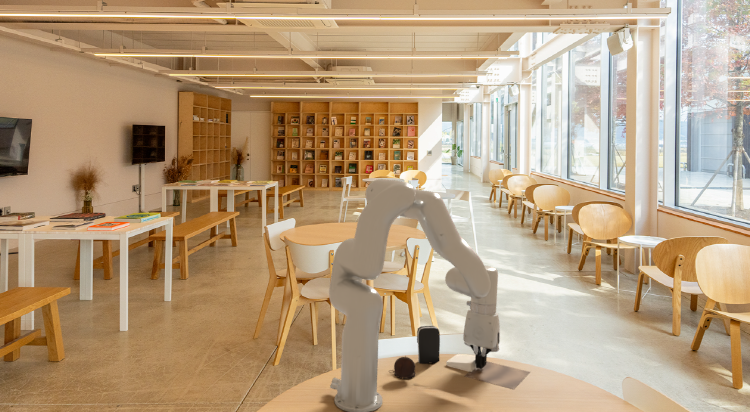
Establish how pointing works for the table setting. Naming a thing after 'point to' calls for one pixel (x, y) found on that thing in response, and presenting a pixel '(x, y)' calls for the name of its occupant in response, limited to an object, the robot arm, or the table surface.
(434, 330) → the battery charger
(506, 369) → the board
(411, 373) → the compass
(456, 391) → the table surface
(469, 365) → the coaster
